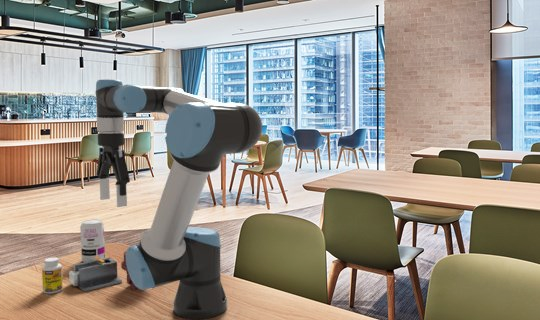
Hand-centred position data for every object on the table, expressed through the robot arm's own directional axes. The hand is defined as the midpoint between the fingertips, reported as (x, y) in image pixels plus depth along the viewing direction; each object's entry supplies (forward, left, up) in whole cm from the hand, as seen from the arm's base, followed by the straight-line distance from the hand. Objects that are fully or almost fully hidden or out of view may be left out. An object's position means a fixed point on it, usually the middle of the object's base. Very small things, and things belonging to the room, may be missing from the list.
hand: (113, 202), depth 137 cm
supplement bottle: (+15, +14, -29) cm, 36 cm away
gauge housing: (+15, +1, -29) cm, 32 cm away
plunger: (+15, +3, -28) cm, 32 cm away
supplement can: (+37, -5, -29) cm, 47 cm away
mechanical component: (+2, -8, -29) cm, 30 cm away
